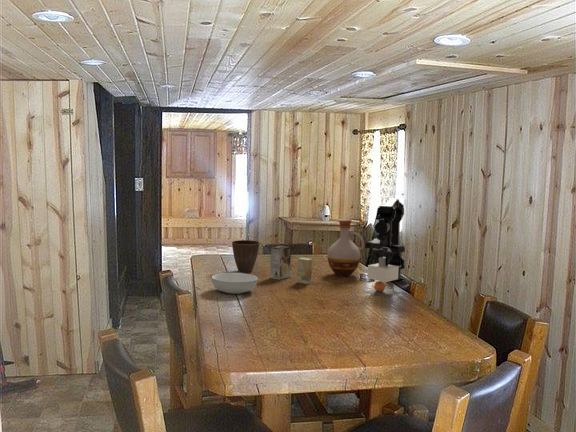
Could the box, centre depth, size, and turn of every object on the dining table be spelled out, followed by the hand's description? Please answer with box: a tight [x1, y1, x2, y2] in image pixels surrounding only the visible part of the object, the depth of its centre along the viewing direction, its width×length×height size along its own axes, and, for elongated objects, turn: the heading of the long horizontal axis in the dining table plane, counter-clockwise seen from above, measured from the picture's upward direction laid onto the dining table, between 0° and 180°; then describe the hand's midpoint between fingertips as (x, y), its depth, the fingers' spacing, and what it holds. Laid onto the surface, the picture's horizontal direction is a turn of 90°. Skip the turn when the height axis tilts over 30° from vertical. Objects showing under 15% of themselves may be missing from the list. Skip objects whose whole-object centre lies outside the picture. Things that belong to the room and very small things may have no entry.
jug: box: [326, 219, 365, 278], centre depth 289 cm, size 20×18×30 cm
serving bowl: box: [211, 272, 259, 295], centre depth 246 cm, size 21×21×7 cm
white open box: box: [366, 256, 399, 283], centre depth 252 cm, size 10×10×10 cm
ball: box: [373, 280, 386, 292], centre depth 254 cm, size 5×5×5 cm
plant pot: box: [231, 239, 260, 274], centre depth 292 cm, size 15×15×16 cm
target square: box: [364, 288, 401, 298], centre depth 254 cm, size 12×12×1 cm
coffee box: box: [269, 245, 292, 281], centre depth 279 cm, size 9×6×16 cm
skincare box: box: [296, 257, 313, 285], centre depth 269 cm, size 6×4×12 cm
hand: (383, 265), depth 252 cm, fingers closed on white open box, 3 cm apart
